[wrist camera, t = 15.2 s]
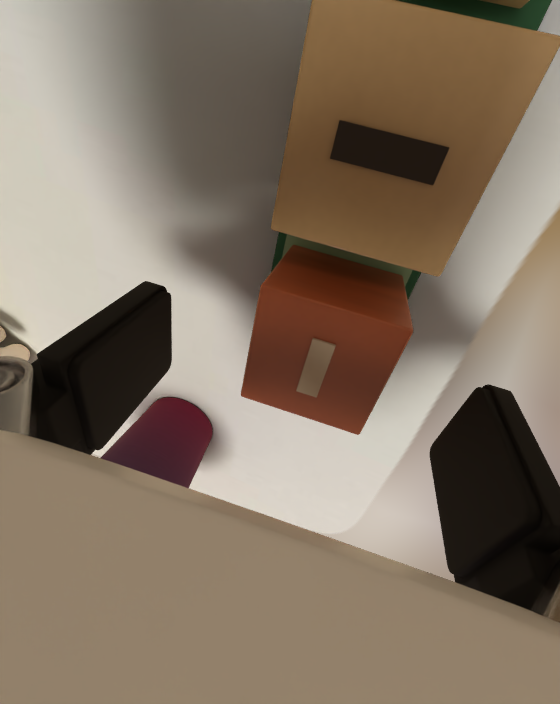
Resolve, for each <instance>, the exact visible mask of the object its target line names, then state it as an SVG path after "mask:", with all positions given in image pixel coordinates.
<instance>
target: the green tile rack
mask: <svg viewBox="0 0 560 704" xmlns="http://www.w3.org/2000/svg"><path fill="white" fill-rule="evenodd" d="M551 1H552V0H312V2H311V8H310V13H309V19H308V24H307V30H306V35H305V41H304V46H303V52H302V58H301V63H300V69H299V74H298V80H297V85H296V91H295V96H294V102H293V107H292V113H291V118H290V124H289V129H288V135H287V140H286V146H285V151H284V157H283V162H282V168H281V173H280V179H279V184H278V190H277V195H276V201H275V206H274V212H273V217H272V223H271V229H272V230H274V231H278V232H279V234H278V239H277V244H276V249H275V255H274V260H273V265H272V270H271V272H272V271H273V269H274V268H275V267H276V266H277V264H278V263H279V262H280V260H281V259H282V258H283V257H284V255H285V254H286V253H287V251H288V250H289V249H290V248H291V246H292V245H297V246H301V247H304V248H308V249H311V250H315V251H318V252H322V253H325V254H329V255H332V256H336V257H339V258H343V259H346V260H350V261H353V262H357V263H360V264H364V265H367V266H371V267H374V268H378V269H381V270H385V271H388V272H392V273H395V274H399V275H402V276H403V280H404V285H405V290H406V295H407V300H408V299H409V296H410V294H411V292H412V290H413V288H414V286H415V284H416V282H417V280H418V278H419V276H420V274H421V272H423V273H426V274H430V275H433V276H440V275H441V273H442V271H443V270H444V268H445V266H446V264H447V262H448V260H449V258H450V256H451V254H452V252H453V250H454V248H455V246H456V245H457V243H458V241H459V239H460V237H461V235H462V233H463V231H464V229H465V227H466V225H467V223H468V221H469V220H470V218H471V216H472V214H473V212H474V210H475V208H476V206H477V204H478V202H479V200H480V198H481V197H482V195H483V193H484V191H485V189H486V187H487V185H488V183H489V181H490V179H491V177H492V175H493V173H494V172H495V170H496V168H497V166H498V164H499V162H500V160H501V158H502V156H503V154H504V152H505V150H506V148H507V147H508V145H509V143H510V141H511V139H512V137H513V135H514V133H515V131H516V129H517V127H518V125H519V123H520V122H521V120H522V118H523V116H524V114H525V112H526V110H527V108H528V106H529V104H530V102H531V100H532V98H533V97H534V95H535V93H536V91H537V89H538V87H539V85H540V83H541V81H542V79H543V77H544V75H545V73H546V72H547V70H548V68H549V66H550V64H551V62H552V60H553V58H554V56H555V54H556V52H557V50H558V48H559V47H560V36H559V35H554V34H549V33H545V32H540V31H537V30H538V28H539V26H540V24H541V22H542V20H543V18H544V16H545V14H546V11H547V9H548V7H549V5H550V3H551Z"/></svg>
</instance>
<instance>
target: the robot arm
mask: <svg viewBox="0 0 560 704" xmlns="http://www.w3.org/2000/svg"><path fill="white" fill-rule="evenodd" d="M37 357H38V359H37V360H36V361H34V362H33V363H31V364H30V363H29V362H28V361H27V360H24V359H22V358H19V357H12V356H0V704H560V487H559V485H558V483H557V481H556V479H555V477H554V475H553V473H552V471H551V469H550V467H549V465H548V463H547V461H546V459H545V457H544V455H543V453H542V451H541V449H540V447H539V445H538V443H537V441H536V439H535V437H534V435H533V433H532V432H531V429H530V427H529V426H528V423H527V422H526V419H525V418H524V416H523V414H522V412H521V410H520V408H519V406H518V404H517V402H516V400H515V398H514V396H513V394H512V393H511V391H508V390H505V389H502V388H498V387H495V386H492V385H485V386H483V387H482V388H481V387H478V388H476V389H475V390H474V391H473V392H472V394H471V395H470V396H469V398H468V399H467V400H466V402H465V403H464V404H463V405H462V407H461V408H460V409H459V410H458V412H457V413H456V414H455V416H454V417H453V418H452V419H451V421H450V422H449V423H448V425H447V426H446V427H445V428H444V430H443V431H442V432H441V434H440V435H439V436H438V438H437V439H436V440H435V441H434V443H433V444H432V446H431V449H430V460H431V467H432V473H433V479H434V485H435V492H436V498H437V504H438V510H439V516H440V522H441V529H442V535H443V540H444V547H445V553H446V560H447V565H448V569H449V571H450V572H451V573H452V574H454V578H455V582H453V581H450V580H448V579H444V578H442V577H439V576H436V575H433V574H431V573H428V572H425V571H422V570H419V569H417V568H414V567H411V566H408V565H405V564H403V563H399V562H397V561H394V560H391V559H388V558H385V557H383V556H380V555H377V554H374V553H372V552H369V551H366V550H363V549H360V548H358V547H354V546H352V545H349V544H346V543H343V542H341V541H338V540H335V539H332V538H329V537H326V536H323V535H321V534H318V533H315V532H312V531H309V530H306V529H304V528H301V527H298V526H295V525H292V524H289V523H286V522H284V521H281V520H278V519H275V518H272V517H269V516H266V515H264V514H261V513H258V512H255V511H252V510H249V509H246V508H244V507H241V506H238V505H235V504H232V503H229V502H226V501H224V500H221V499H218V498H215V497H212V496H209V495H206V494H203V493H200V492H198V491H195V490H192V489H189V488H186V487H183V486H180V485H177V484H174V483H171V482H168V481H166V480H163V479H160V478H157V477H154V476H151V475H148V474H145V473H142V472H139V471H137V470H134V469H131V468H128V467H125V466H122V465H119V464H116V463H113V462H110V461H107V460H104V459H101V458H98V457H95V456H92V455H91V454H92V453H93V452H94V451H95V449H96V450H100V449H102V448H103V447H104V446H105V445H106V444H107V442H108V441H109V440H110V439H111V438H112V436H113V435H114V434H115V433H116V432H117V430H118V429H119V428H120V427H121V426H122V425H123V423H124V422H125V421H126V420H127V419H128V417H129V416H130V415H131V414H132V413H133V412H134V410H135V409H136V408H137V407H138V406H139V404H140V403H141V402H142V401H143V400H144V399H145V397H146V396H147V395H148V394H149V393H150V391H151V390H152V389H153V388H154V387H155V386H156V384H157V383H158V382H159V381H160V380H161V378H162V377H163V376H164V375H165V374H166V373H167V371H168V370H169V368H170V365H171V361H172V341H171V295H170V293H168V292H167V290H166V288H165V287H164V286H161V285H158V284H154V283H151V282H147V281H145V282H143V283H141V284H140V285H138V286H137V287H135V288H134V289H132V290H131V291H129V292H128V293H127V294H125V295H124V296H122V297H121V298H119V299H118V300H116V301H115V302H113V303H112V304H110V305H109V306H107V307H106V308H104V309H103V310H101V311H100V312H98V313H97V314H95V315H94V316H93V317H91V318H90V319H88V320H87V321H85V322H84V323H82V324H81V325H79V326H78V327H76V328H75V329H73V330H72V331H70V332H69V333H67V334H66V335H64V336H63V337H62V338H60V339H59V340H57V341H56V342H54V343H53V344H51V345H50V346H48V347H47V348H45V349H44V350H42V351H41V352H39V353H38V354H37Z"/></svg>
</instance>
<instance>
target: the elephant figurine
mask: <svg viewBox="0 0 560 704" xmlns="http://www.w3.org/2000/svg"><path fill="white" fill-rule="evenodd" d="M5 338H6V333H5V331H4V329H3V328H2V327H1V326H0V342H2V341H3V340H4V339H5ZM0 356H12V357H19V358H22V359H24V360H27V361H28V360H29V357H30V352H29V350H28V349H27V348H26V347H25V346H23V345H21V344H11V345H8V346H6V347H3V348H0Z"/></svg>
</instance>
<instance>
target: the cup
mask: <svg viewBox="0 0 560 704" xmlns="http://www.w3.org/2000/svg"><path fill="white" fill-rule="evenodd" d="M211 438H212V426H211V423H210V421H209V419H208V418H207V417H206V415H205V414H204V413H203V412H202V411H201V410H200V409H198V408H197V407H196V406H194V405H193V404H191V403H189V402H187V401H185V400H182V399H178V398H172V397H167V398H162V399H159V400H157V401H155V402H154V403H153V404H152V405H151V406H150V407H149V408H148V409H147V411H146V412H145V413H144V414H143V415H142V416H141V417H140V418H139V419H138V420H137V421H136V422H135V423H134V424H133V425H132V426H131V427H130V428H129V429H128V430H127V431H126V432H125V433H124V434H123V435H122V436H121V437H120V438H119V439H118V440H117V441H116V442H115V444H114V445H113V446H112V447H111V448H110V449H109V450H108V451H107V452H106V453H105V454H104V455H103V456H102V457H101V459H104V460H107V461H110V462H113V463H116V464H119V465H122V466H125V467H128V468H131V469H134V470H137V471H139V472H142V473H145V474H148V475H151V476H154V477H157V478H160V479H163V480H166V481H168V482H171V483H174V484H177V485H180V486H183V487H186V488H189V486H190V484H191V482H192V479H193V477H194V475H195V473H196V471H197V468H198V466H199V464H200V462H201V460H202V458H203V455H204V453H205V451H206V449H207V447H208V445H209V442H210V440H211Z"/></svg>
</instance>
